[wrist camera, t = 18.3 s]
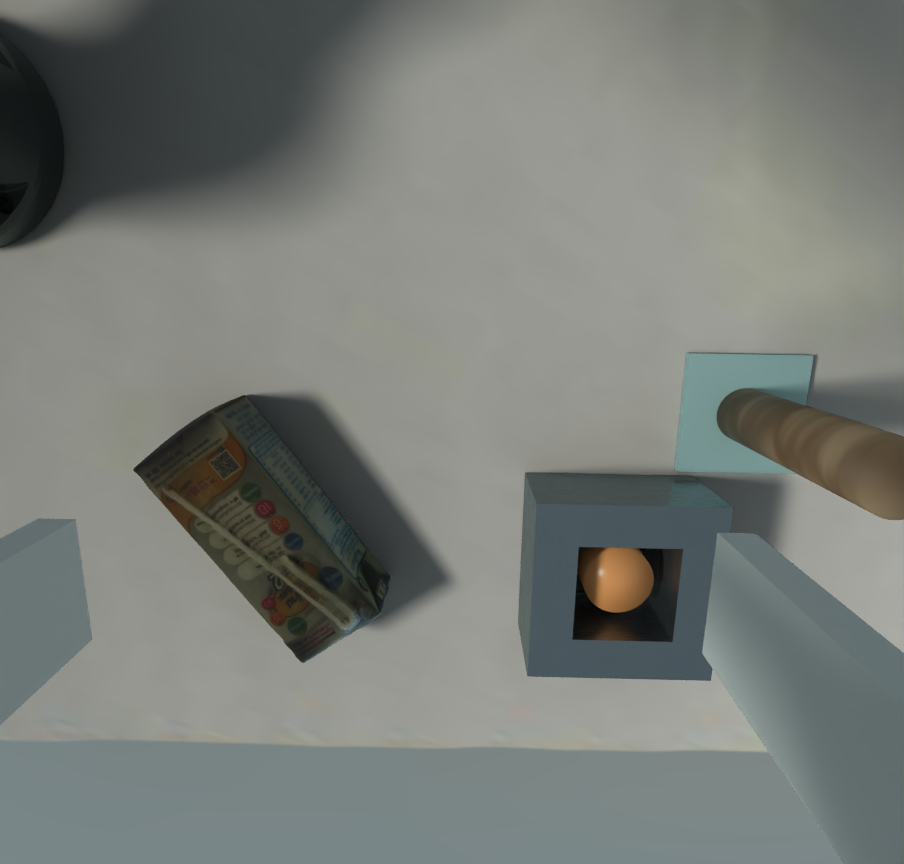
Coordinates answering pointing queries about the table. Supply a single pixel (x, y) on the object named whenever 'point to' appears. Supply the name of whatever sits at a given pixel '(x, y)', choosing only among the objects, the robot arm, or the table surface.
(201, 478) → the beverage carton
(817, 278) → the table surface
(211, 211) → the table surface
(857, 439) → the brown rounded rod
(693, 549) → the box
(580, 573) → the button
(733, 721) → the table surface
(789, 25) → the table surface
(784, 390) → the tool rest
